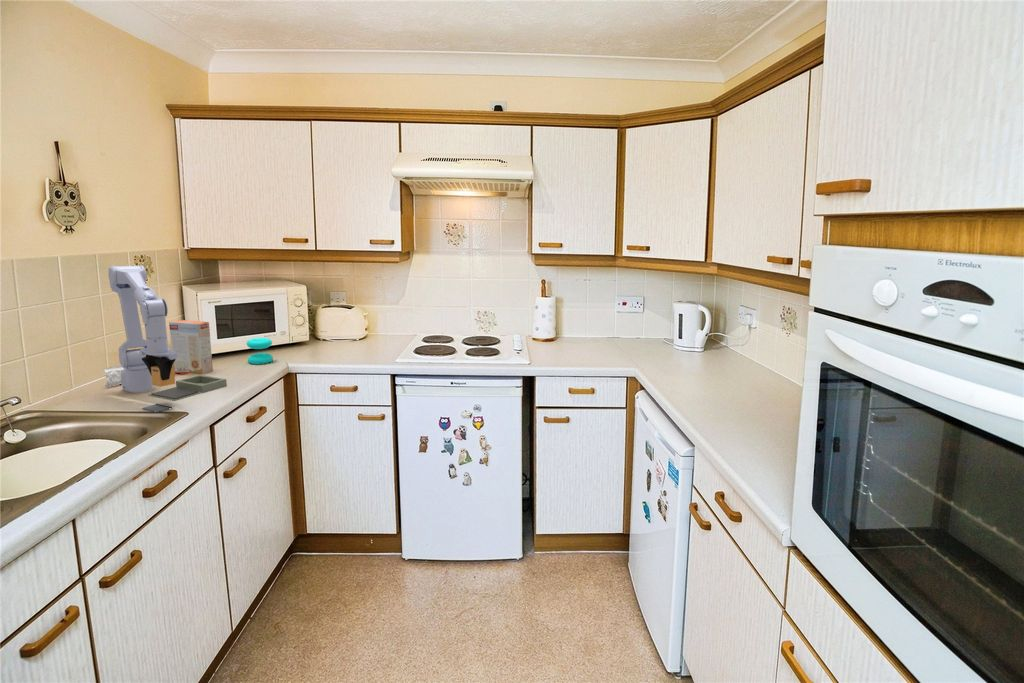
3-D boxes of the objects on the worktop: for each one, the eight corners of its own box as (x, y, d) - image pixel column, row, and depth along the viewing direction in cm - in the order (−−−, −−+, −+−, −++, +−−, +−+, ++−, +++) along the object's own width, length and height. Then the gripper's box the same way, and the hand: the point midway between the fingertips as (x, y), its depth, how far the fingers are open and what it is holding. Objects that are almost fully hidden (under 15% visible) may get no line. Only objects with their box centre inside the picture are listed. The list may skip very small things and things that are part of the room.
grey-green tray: (148, 398, 195) (147, 388, 194) (201, 383, 213) (200, 374, 212) (175, 403, 190) (174, 393, 189) (227, 388, 208) (226, 379, 207)
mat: (142, 409, 183) (142, 407, 183) (166, 402, 190) (165, 401, 190) (157, 412, 181) (157, 411, 180) (180, 405, 188) (180, 404, 188)
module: (151, 385, 184) (150, 364, 183) (166, 382, 188) (165, 362, 188) (160, 386, 182) (159, 366, 181) (175, 383, 187) (174, 363, 186)
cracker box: (214, 373, 228) (209, 321, 224) (202, 376, 222) (197, 323, 218) (185, 370, 232) (180, 319, 228) (173, 373, 226) (168, 321, 222)
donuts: (252, 342, 239) (242, 339, 245) (253, 366, 241) (244, 362, 247) (275, 339, 246) (265, 336, 252) (277, 362, 248) (267, 358, 254)
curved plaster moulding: (169, 387, 208) (166, 365, 206) (102, 395, 198) (99, 372, 197) (170, 382, 218) (168, 360, 216) (107, 389, 208) (104, 366, 207)
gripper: (184, 337, 183) (187, 378, 185) (153, 333, 188) (157, 373, 191) (163, 341, 176) (167, 383, 179) (131, 336, 182) (136, 378, 184)
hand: (160, 378), depth 184 cm, fingers closed on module, 4 cm apart
